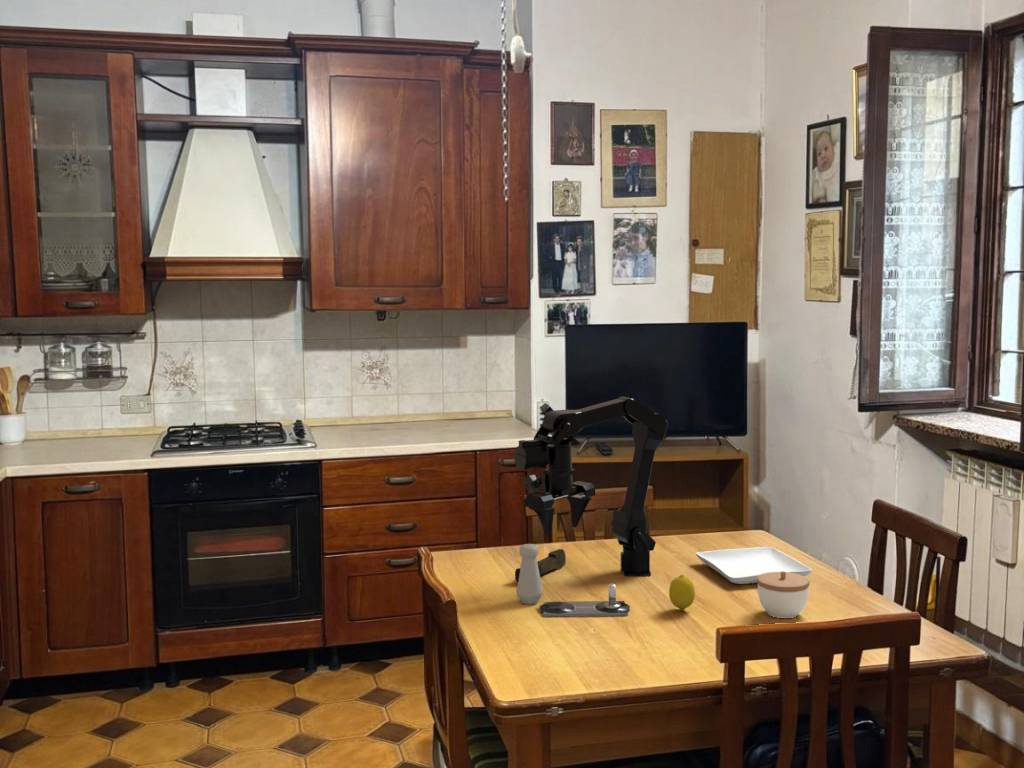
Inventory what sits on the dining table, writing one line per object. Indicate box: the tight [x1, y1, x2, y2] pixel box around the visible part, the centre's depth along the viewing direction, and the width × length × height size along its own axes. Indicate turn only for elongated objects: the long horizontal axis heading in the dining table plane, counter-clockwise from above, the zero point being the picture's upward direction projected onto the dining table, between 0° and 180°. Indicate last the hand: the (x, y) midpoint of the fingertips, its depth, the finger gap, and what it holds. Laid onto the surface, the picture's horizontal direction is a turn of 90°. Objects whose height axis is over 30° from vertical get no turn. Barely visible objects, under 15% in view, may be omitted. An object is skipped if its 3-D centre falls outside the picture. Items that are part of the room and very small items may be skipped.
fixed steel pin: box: [604, 583, 621, 610], centre depth 225 cm, size 4×4×5 cm
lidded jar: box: [756, 571, 810, 619], centre depth 220 cm, size 11×11×9 cm
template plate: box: [539, 600, 631, 618], centre depth 225 cm, size 20×8×1 cm, turn 89°
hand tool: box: [514, 548, 567, 583], centre depth 252 cm, size 19×4×5 cm, turn 141°
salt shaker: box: [516, 543, 543, 606], centre depth 231 cm, size 6×6×13 cm
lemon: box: [668, 574, 696, 612], centre depth 224 cm, size 6×6×8 cm
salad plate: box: [695, 546, 813, 585], centre depth 250 cm, size 21×21×3 cm
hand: (561, 531), depth 242 cm, fingers open, 9 cm apart
